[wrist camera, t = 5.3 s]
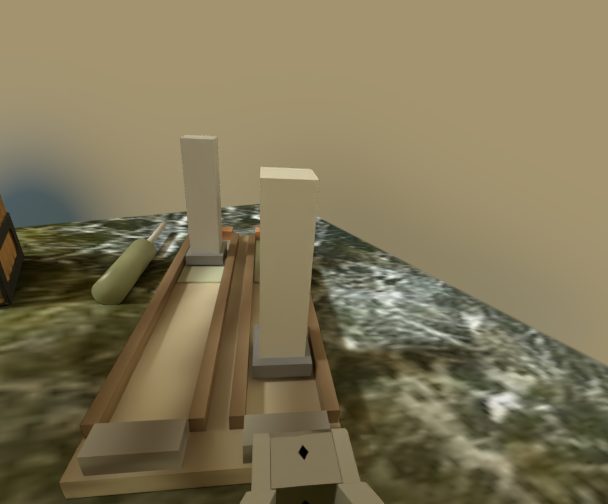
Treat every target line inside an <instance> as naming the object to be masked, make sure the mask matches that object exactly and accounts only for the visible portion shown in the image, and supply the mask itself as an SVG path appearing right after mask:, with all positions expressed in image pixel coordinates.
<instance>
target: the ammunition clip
mask: <svg viewBox="0 0 608 504" xmlns="http://www.w3.org/2000/svg"><path fill="white" fill-rule="evenodd" d="M23 259H24V254H23V251H22V248H21V246H20V243H19V240H18V237H17V234H16V231H15V228H14V226H13V223H12V220H11V217H10V214H9V213H6V210H5V207H4V204H3V202H2V199H1V196H0V306H4V305H9V304H12V300H13V296H14V292H15V289H16V285H17V281H18V278H19V274H20V270H21V266H22V263H23Z"/></svg>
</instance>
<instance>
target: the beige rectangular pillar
mask: <svg viewBox="0 0 608 504" xmlns="http://www.w3.org/2000/svg"><path fill="white" fill-rule="evenodd" d="M318 190H319V179H318V178H317V176H316V175H315V174H314V172H313V171H312V169H296V168H273V167H261V173H260V324H254V339H253V364H252V378H274V377H297V376H311V373H312V359H311V354H310V348H309V343H308V338H307V323H308V311H309V299H310V287H311V275H312V263H313V250H314V238H315V226H316V213H317V202H318Z"/></svg>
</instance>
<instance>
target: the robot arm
mask: <svg viewBox="0 0 608 504" xmlns="http://www.w3.org/2000/svg"><path fill="white" fill-rule="evenodd" d="M240 504H385V503H384V502H383V501H382V500H381V499H380V498H379V497H378V495H377V494H376V493H375V492H374V491H373V490H372V489H371V487H370V486H369V485H368V484H367V483H366V482H361V481H360V477H359V473H358V469H357V466H356V462H355V458H354V454H353V450H352V446H351V442H350V439H349V435H348V431H347V430H346V428H338V429H319V430H306V431H300V432H279V433H270V434H269V433H258V434H254V435H253V451H252V482H251V491H249V492H246V493H245V495H244V497H243V498H242V500H241V502H240Z"/></svg>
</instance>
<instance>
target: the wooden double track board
mask: <svg viewBox="0 0 608 504" xmlns="http://www.w3.org/2000/svg"><path fill="white" fill-rule="evenodd" d="M222 240H227V251H226V255H225V259H224V263H223V265H186V257H185V255H186V253H187V251H188V250H189V248H190V240H189V234H188V236H187V238H186V239H185V241H184V243H183V245H182V246H181V248H180V250H179V252H178V253H177V255H176V257H175V259H174V260H173V262H172V264H171V266H170V267H169V269H168V271H167V273H166V274H165V276H164V278H163V280H162V282H161V283H160V285H159V287H158V289H157V290H156V292H155V294H154V296H153V297H152V299H151V301H150V303H149V304H148V306H147V308H146V310H145V311H144V313H143V315H142V317H141V318H140V320H139V322H138V324H137V325H136V327H135V329H134V331H133V332H132V334H131V336H130V338H129V340H128V341H127V343H126V345H125V347H124V348H123V350H122V352H121V354H120V355H119V357H118V359H117V361H116V362H115V364H114V366H113V368H112V369H111V371H110V373H109V375H108V376H107V378H106V380H105V382H104V383H103V385H102V387H101V389H100V390H99V392H98V394H97V396H96V398H95V399H94V401H93V403H92V405H91V406H90V408H89V410H88V412H87V413H86V415H85V417H84V419H83V420H82V422H81V424H80V428H81V430H82V433H83V436H84V437H83V439H82V440H81V442H80V444H79V446H78V448H77V450H76V452H75V453H74V455H73V457H72V459H71V461H70V463H69V465H68V466H67V468H66V470H65V472H64V474H63V476H62V478H61V479H60V481H59V484H60V487H61V489H62V491H63V494H64V496H65V498H66V499H69V498H80V497H92V496H104V495H115V494H127V493H139V492H150V491H162V490H174V489H185V488H197V487H209V486H220V485H232V484H244V483H251V482H252V451H253V435H254V434H258V433H269V434H270V433H279V432H300V431H306V430H319V429H338V428H341V426H340V422H339V413H340V408H339V404H338V400H337V396H336V392H335V388H334V384H333V380H332V376H331V372H330V368H329V364H328V360H327V356H326V352H325V348H324V344H323V340H322V336H321V332H320V328H319V324H318V320H317V316H316V312H315V308H314V304H313V300H312V296H311V292H310V299H309V311H308V323H307V338H308V343H309V348H310V354H311V359H312V373H311V376H297V377H274V378H252V364H253V339H254V324H260V227H256V231H255V234H249V236H244V235H239V234H233V227H222Z"/></svg>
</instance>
